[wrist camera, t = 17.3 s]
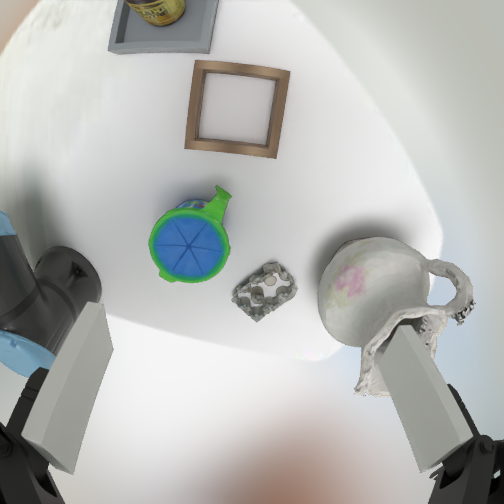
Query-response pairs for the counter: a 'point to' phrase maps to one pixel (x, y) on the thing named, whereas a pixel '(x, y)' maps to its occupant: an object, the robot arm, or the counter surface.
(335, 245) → the counter surface
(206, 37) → the tray
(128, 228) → the counter surface
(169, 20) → the sauce bottle
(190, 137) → the square brown frame
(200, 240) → the snack cup
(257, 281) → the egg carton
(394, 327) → the ceramic pitcher
